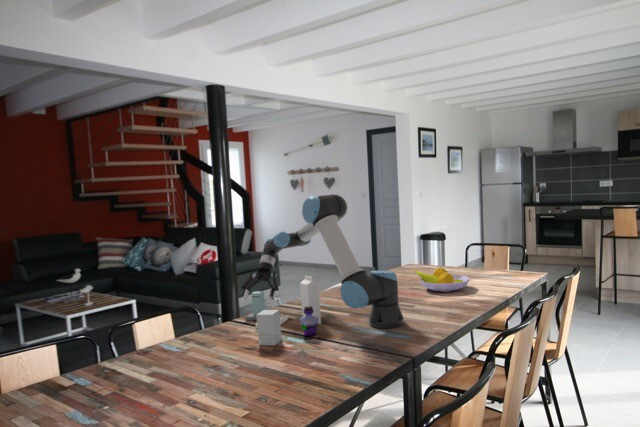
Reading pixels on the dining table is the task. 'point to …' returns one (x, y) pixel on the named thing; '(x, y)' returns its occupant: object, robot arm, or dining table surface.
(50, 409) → the dining table surface
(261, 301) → the light blue tall block
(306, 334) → the potion bottle
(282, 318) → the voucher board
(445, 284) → the fruit bowl
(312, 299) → the milk
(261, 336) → the supplement box
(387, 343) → the dining table surface
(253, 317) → the coaster
